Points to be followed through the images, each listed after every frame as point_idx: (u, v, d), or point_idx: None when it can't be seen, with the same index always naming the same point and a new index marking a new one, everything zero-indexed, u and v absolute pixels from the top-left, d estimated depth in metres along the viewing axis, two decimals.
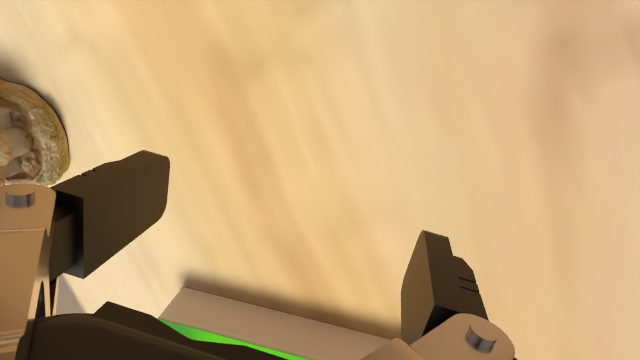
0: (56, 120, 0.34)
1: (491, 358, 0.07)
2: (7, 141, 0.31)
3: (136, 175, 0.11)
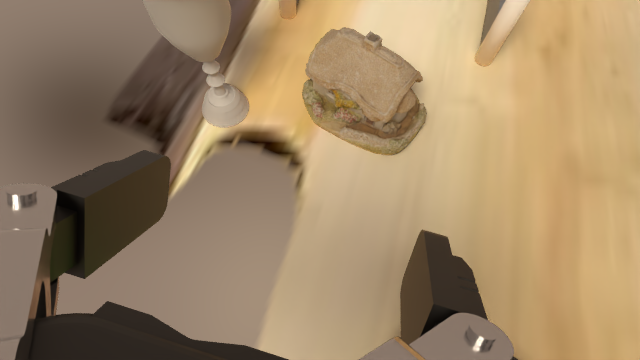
0: None
1: (490, 357, 0.07)
2: None
3: (137, 175, 0.11)
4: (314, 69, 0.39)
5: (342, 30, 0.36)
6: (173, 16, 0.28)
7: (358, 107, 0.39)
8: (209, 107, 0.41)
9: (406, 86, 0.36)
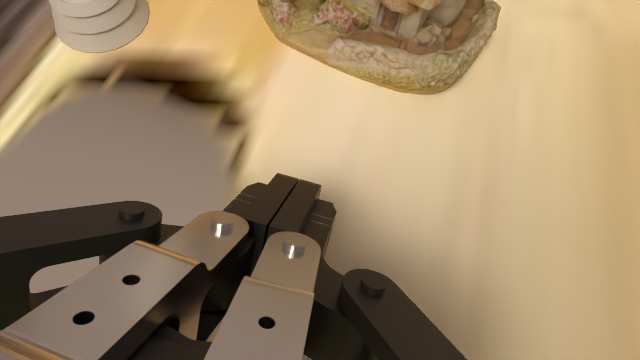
0: None
1: (292, 259, 0.08)
2: None
3: (286, 199, 0.11)
4: None
5: None
6: None
7: None
8: (55, 6, 0.20)
9: None
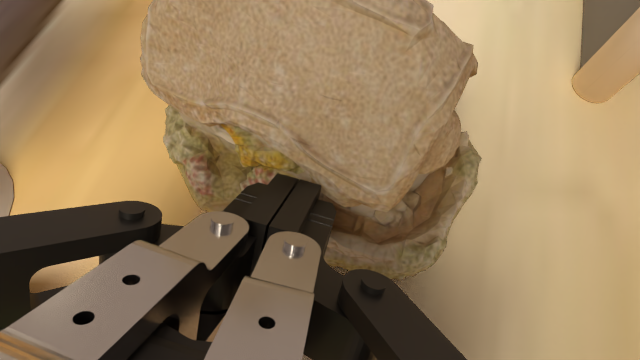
0: None
1: (292, 259, 0.08)
2: None
3: (286, 199, 0.11)
4: (160, 70, 0.13)
5: None
6: None
7: (300, 167, 0.14)
8: None
9: (448, 99, 0.10)
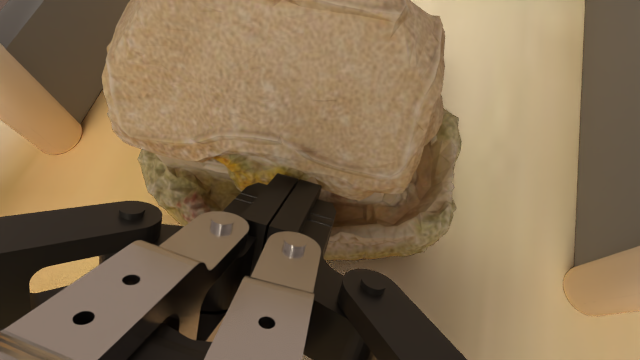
0: None
1: (292, 259, 0.08)
2: None
3: (286, 199, 0.11)
4: (134, 120, 0.13)
5: None
6: None
7: (304, 175, 0.14)
8: None
9: (437, 71, 0.11)
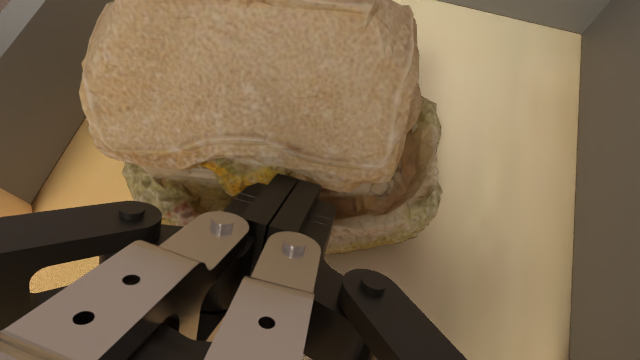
0: None
1: (292, 259, 0.08)
2: None
3: (286, 199, 0.11)
4: (117, 134, 0.13)
5: None
6: None
7: (292, 173, 0.14)
8: None
9: (412, 59, 0.11)
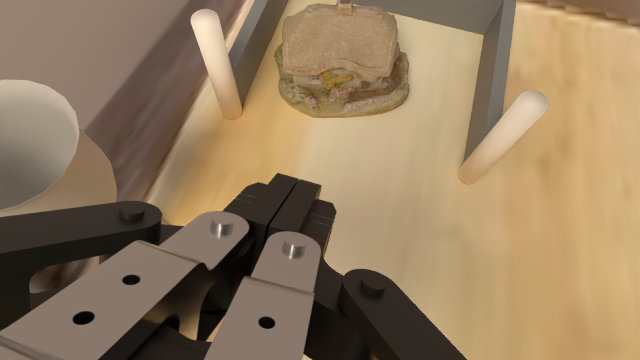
0: None
1: (292, 259, 0.08)
2: None
3: (286, 199, 0.11)
4: (294, 62, 0.36)
5: (309, 9, 0.34)
6: None
7: (353, 77, 0.38)
8: None
9: (395, 32, 0.35)
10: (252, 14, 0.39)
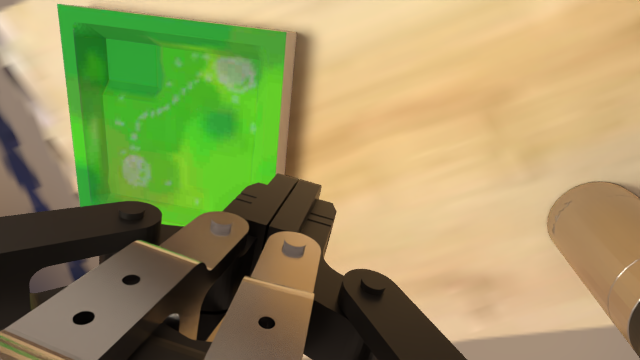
0: None
1: (292, 259, 0.08)
2: None
3: (286, 199, 0.11)
4: None
5: None
6: None
7: None
8: None
9: None
10: None
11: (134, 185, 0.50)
